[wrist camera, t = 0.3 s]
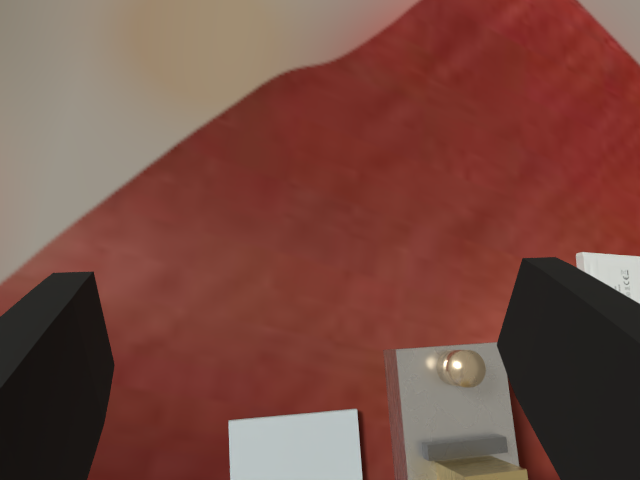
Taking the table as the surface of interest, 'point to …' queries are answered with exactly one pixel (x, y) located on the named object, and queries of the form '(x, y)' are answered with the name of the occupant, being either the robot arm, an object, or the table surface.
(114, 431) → the table surface
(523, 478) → the wooden block with pad
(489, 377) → the grey piece
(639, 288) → the external hard drive
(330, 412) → the mat
